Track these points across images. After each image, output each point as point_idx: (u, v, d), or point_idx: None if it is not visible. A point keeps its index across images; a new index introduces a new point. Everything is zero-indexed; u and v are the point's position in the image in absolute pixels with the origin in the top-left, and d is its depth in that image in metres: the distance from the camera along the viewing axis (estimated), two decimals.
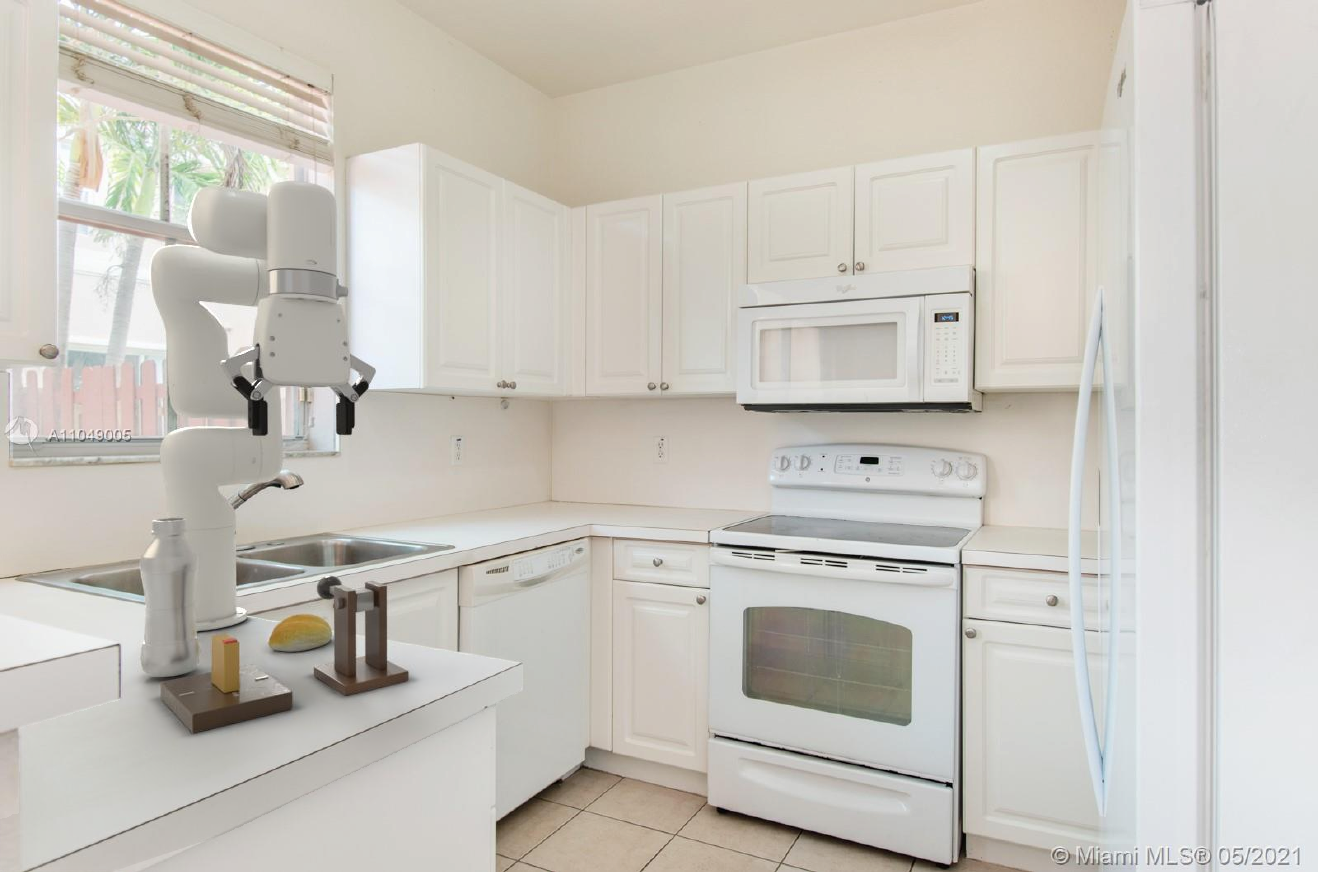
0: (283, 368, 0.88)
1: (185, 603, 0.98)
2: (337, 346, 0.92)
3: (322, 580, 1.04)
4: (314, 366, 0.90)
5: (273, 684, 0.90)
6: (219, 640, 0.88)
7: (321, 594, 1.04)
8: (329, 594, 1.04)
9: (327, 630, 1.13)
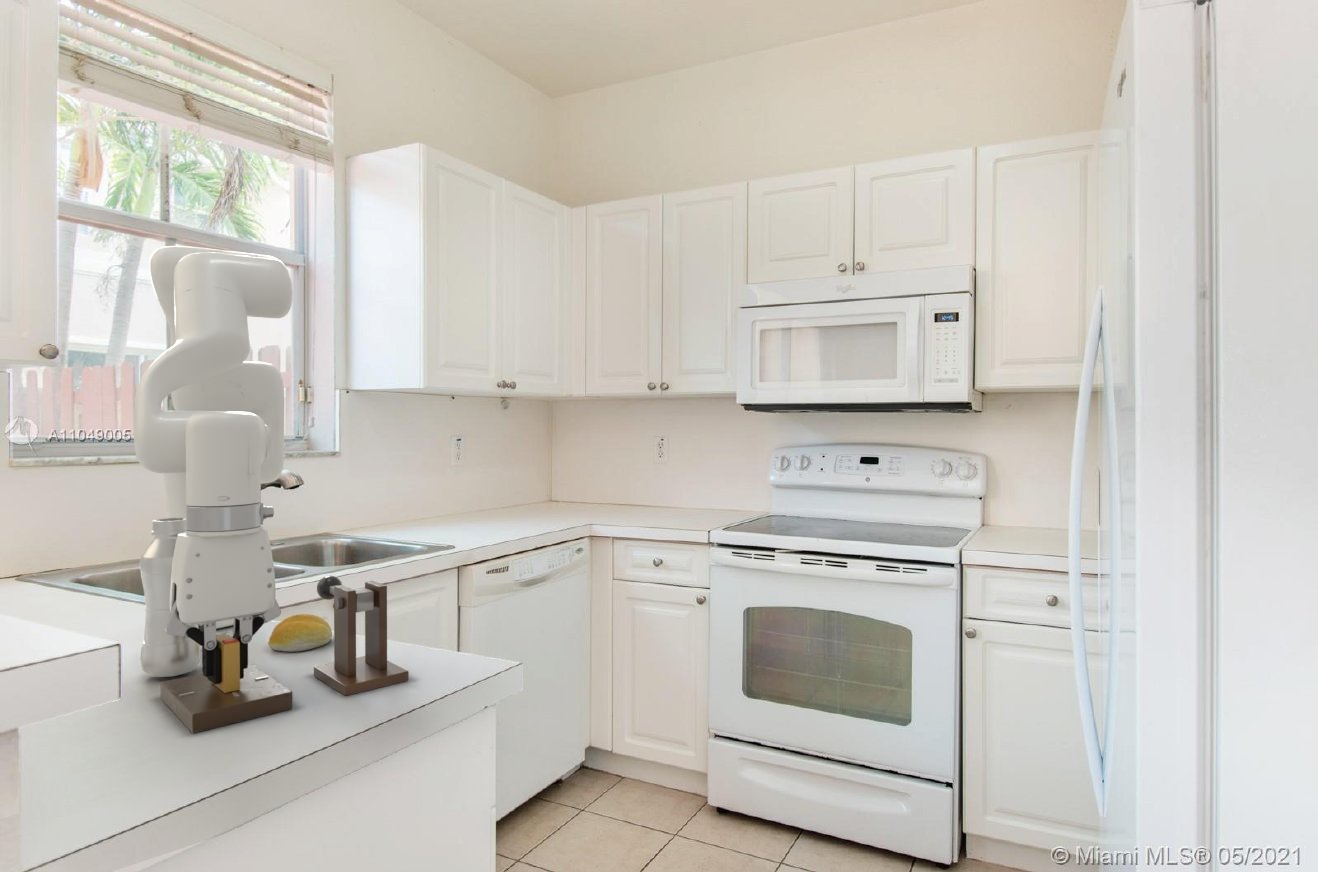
0: (201, 608, 0.85)
1: None
2: (261, 574, 0.90)
3: (322, 580, 1.04)
4: (235, 600, 0.88)
5: (273, 684, 0.90)
6: (219, 640, 0.88)
7: (321, 594, 1.04)
8: (329, 594, 1.04)
9: (327, 630, 1.13)
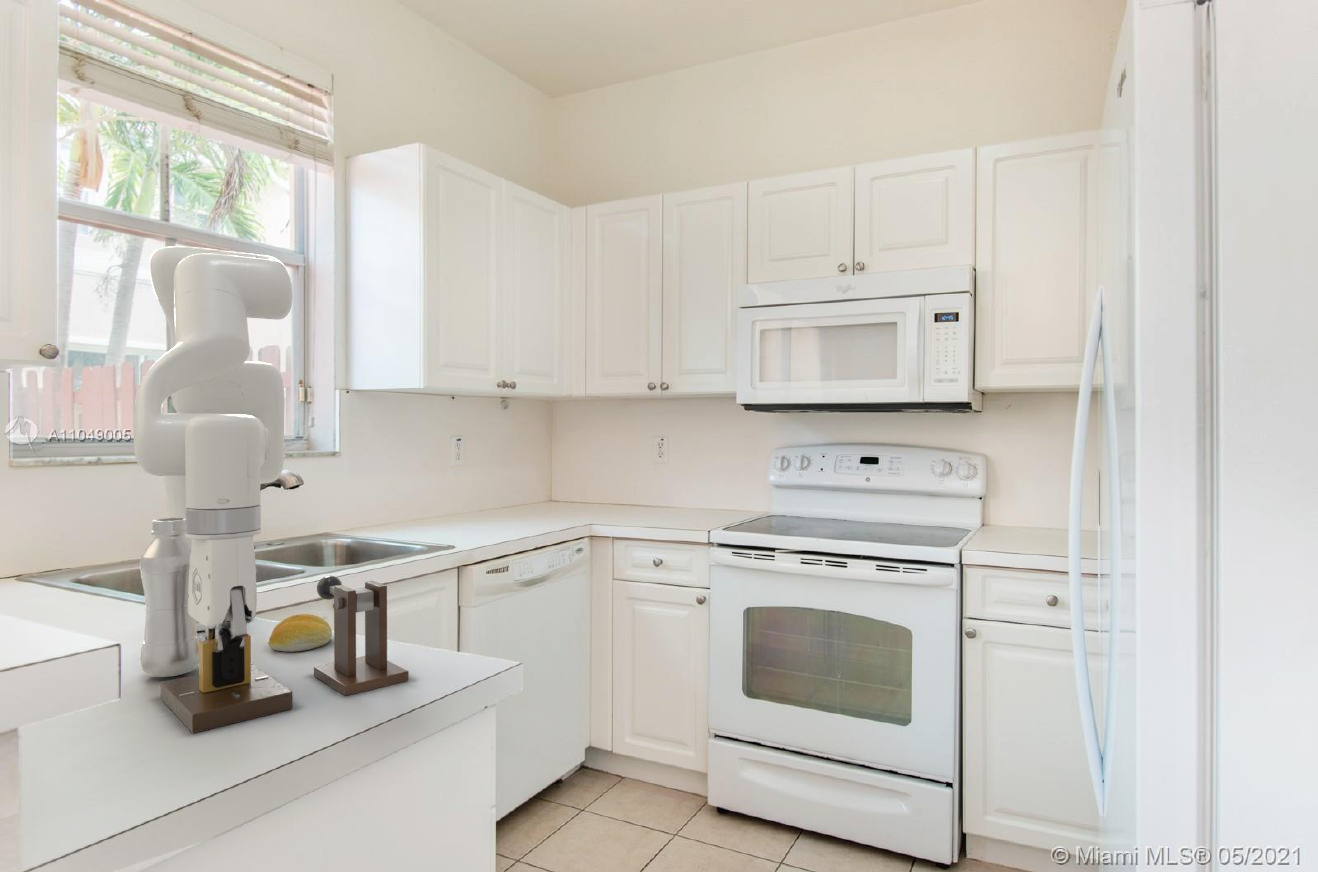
0: None
1: (185, 603, 0.98)
2: None
3: (322, 580, 1.04)
4: None
5: (273, 684, 0.90)
6: None
7: (321, 594, 1.04)
8: (329, 594, 1.04)
9: (327, 630, 1.13)
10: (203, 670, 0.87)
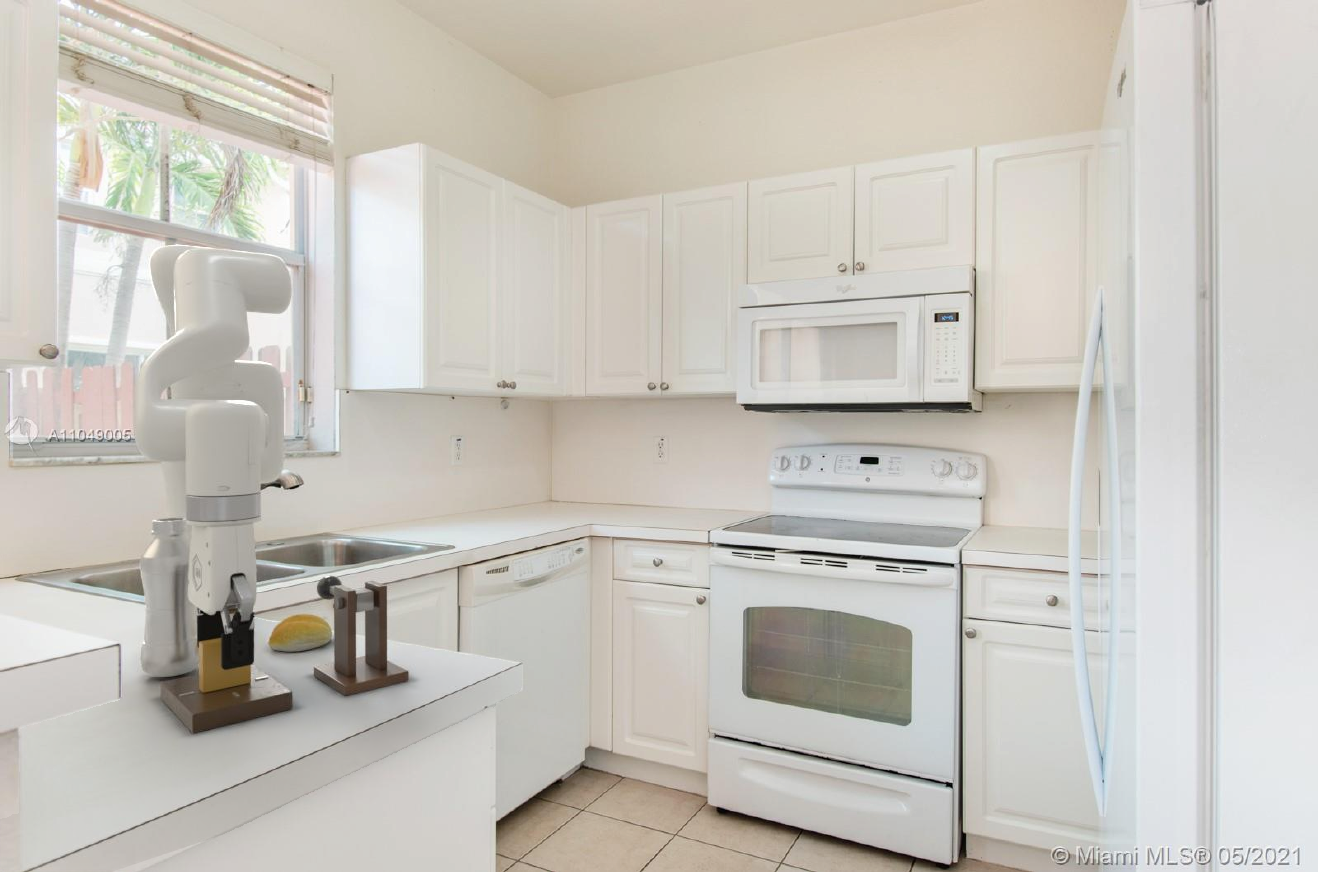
0: None
1: (185, 603, 0.98)
2: None
3: (322, 580, 1.04)
4: None
5: (273, 684, 0.90)
6: None
7: (321, 594, 1.04)
8: (329, 594, 1.04)
9: (327, 630, 1.13)
10: (203, 670, 0.87)
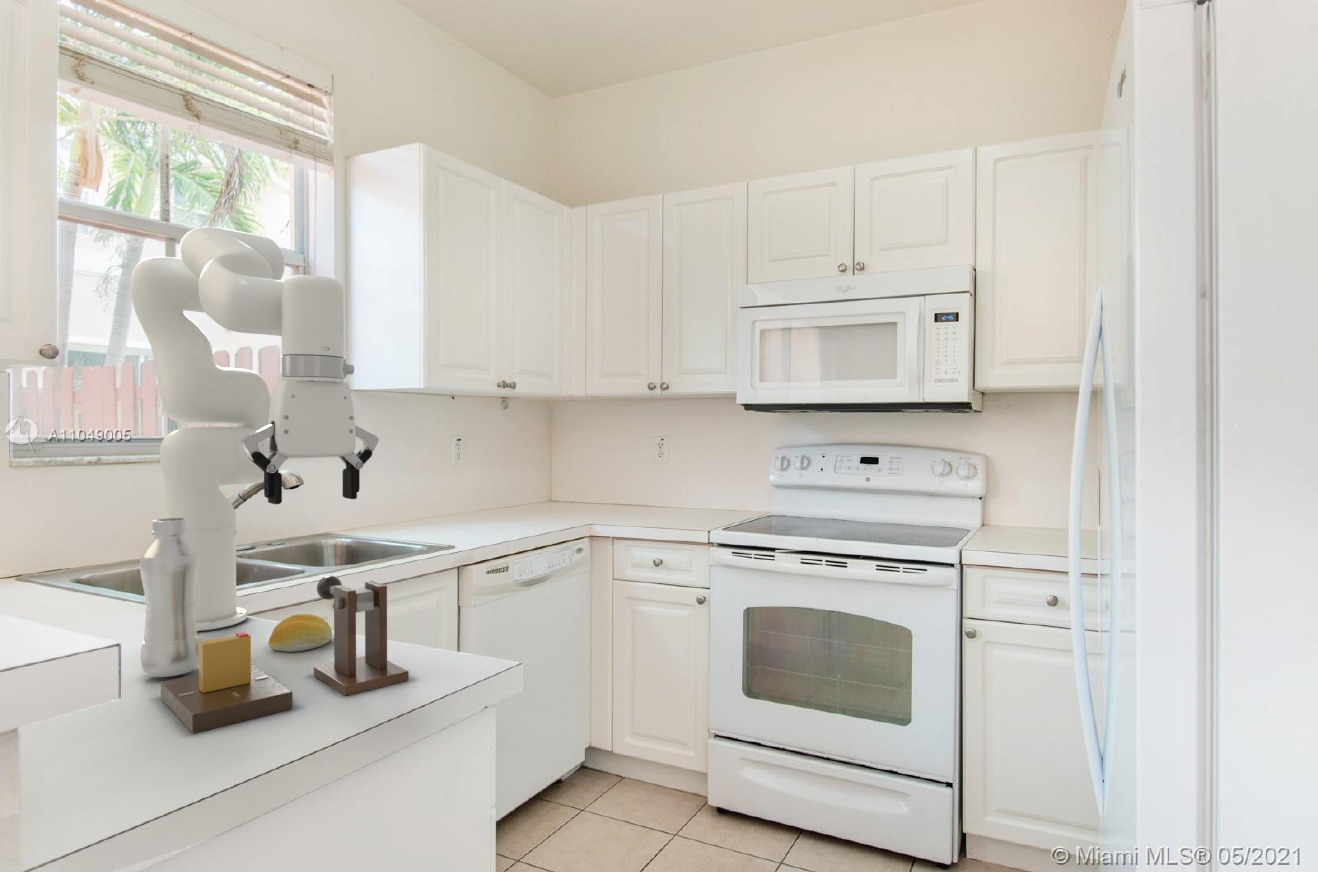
0: (296, 443, 0.98)
1: (185, 603, 0.98)
2: (344, 420, 1.03)
3: (322, 580, 1.04)
4: (323, 440, 1.01)
5: (273, 684, 0.90)
6: (229, 639, 0.89)
7: (321, 594, 1.04)
8: (329, 594, 1.04)
9: (327, 630, 1.13)
10: (203, 670, 0.87)
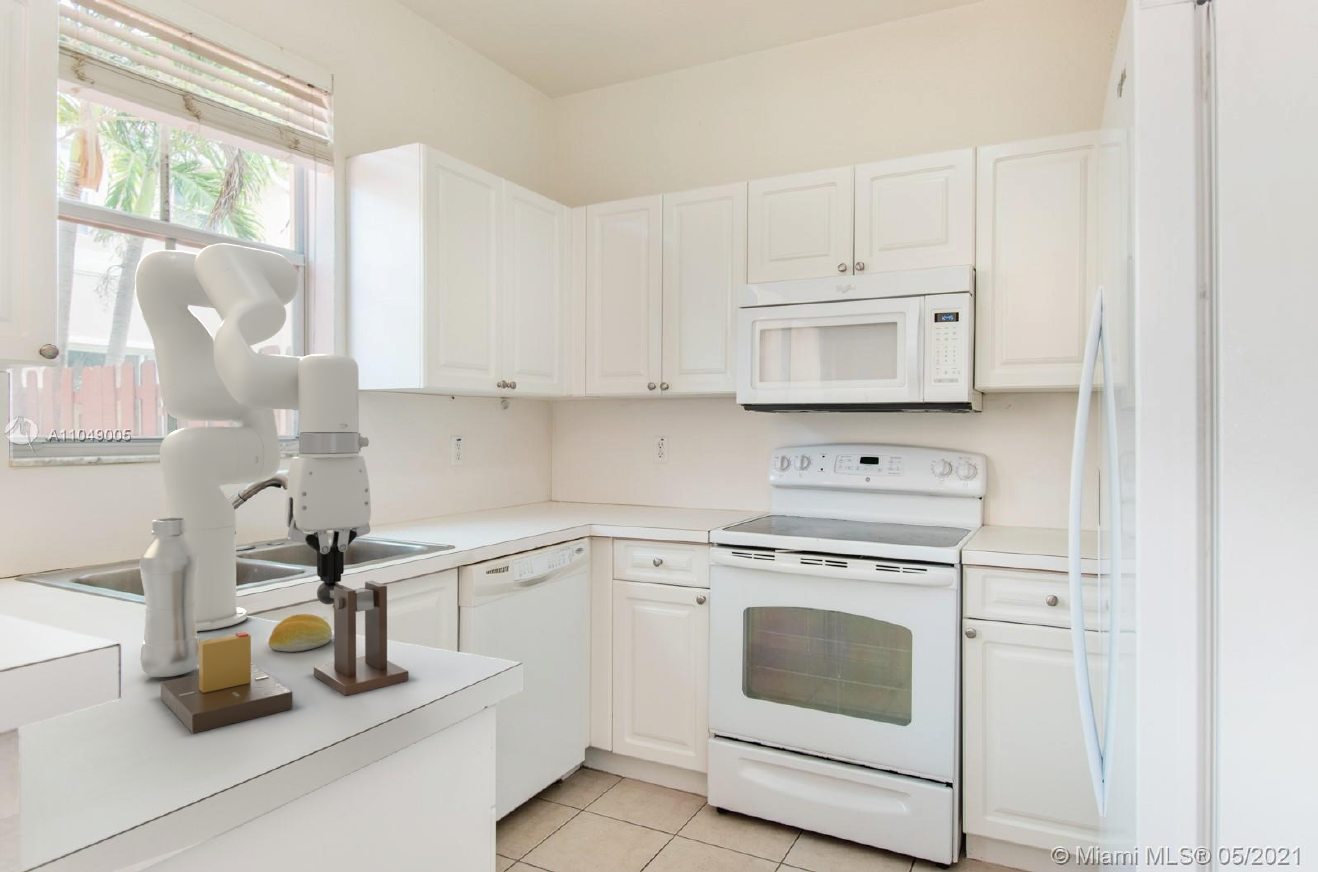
0: (313, 518, 1.01)
1: (185, 603, 0.98)
2: (359, 493, 1.05)
3: (322, 585, 1.04)
4: (340, 513, 1.04)
5: (273, 684, 0.90)
6: (229, 639, 0.89)
7: (321, 599, 1.04)
8: (329, 598, 1.04)
9: (327, 630, 1.13)
10: (203, 670, 0.87)
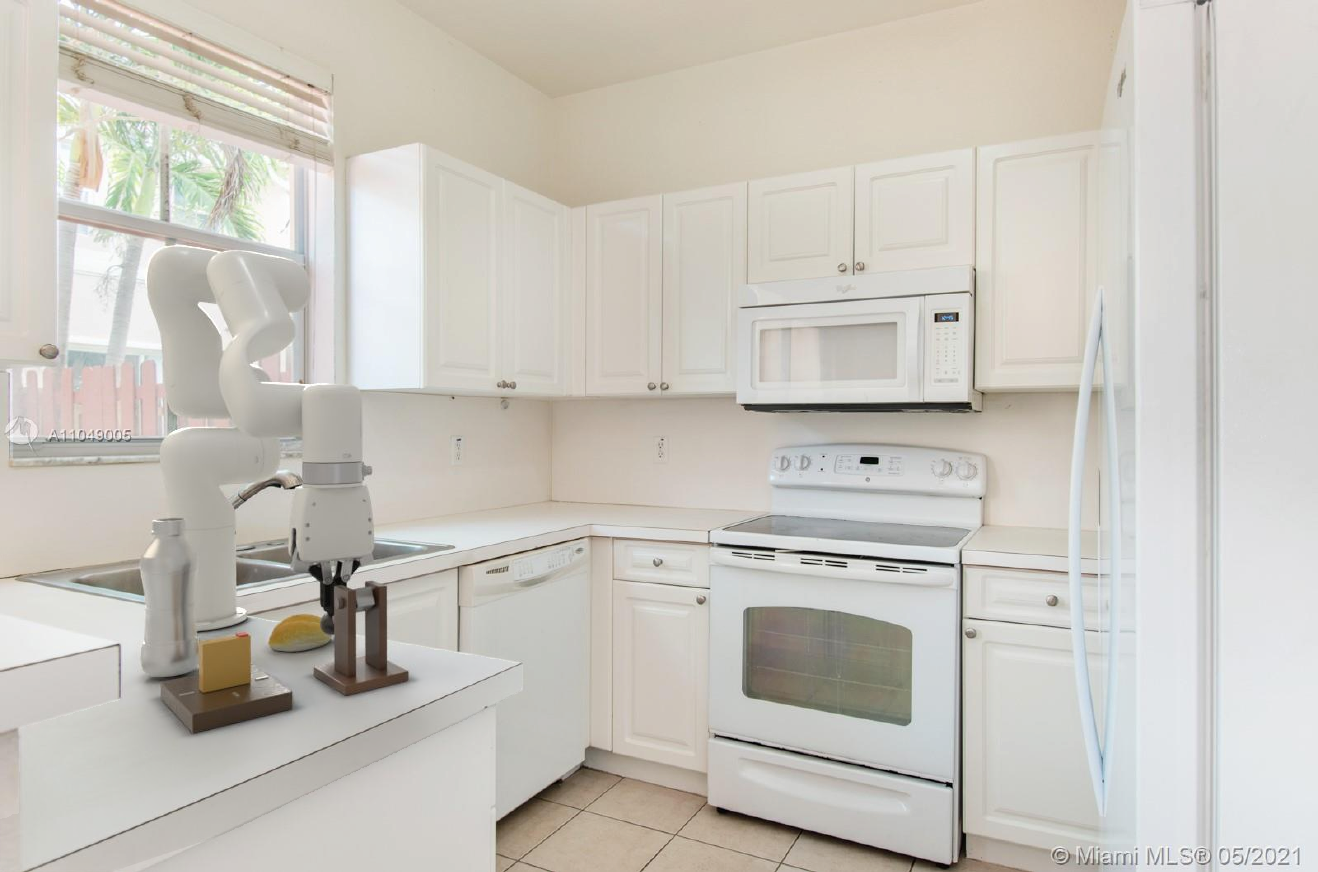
0: (317, 549, 1.01)
1: (185, 603, 0.98)
2: (363, 523, 1.05)
3: (324, 615, 1.04)
4: (343, 544, 1.03)
5: (273, 684, 0.90)
6: (229, 639, 0.89)
7: (325, 627, 1.03)
8: (333, 625, 1.03)
9: None
10: (203, 670, 0.87)
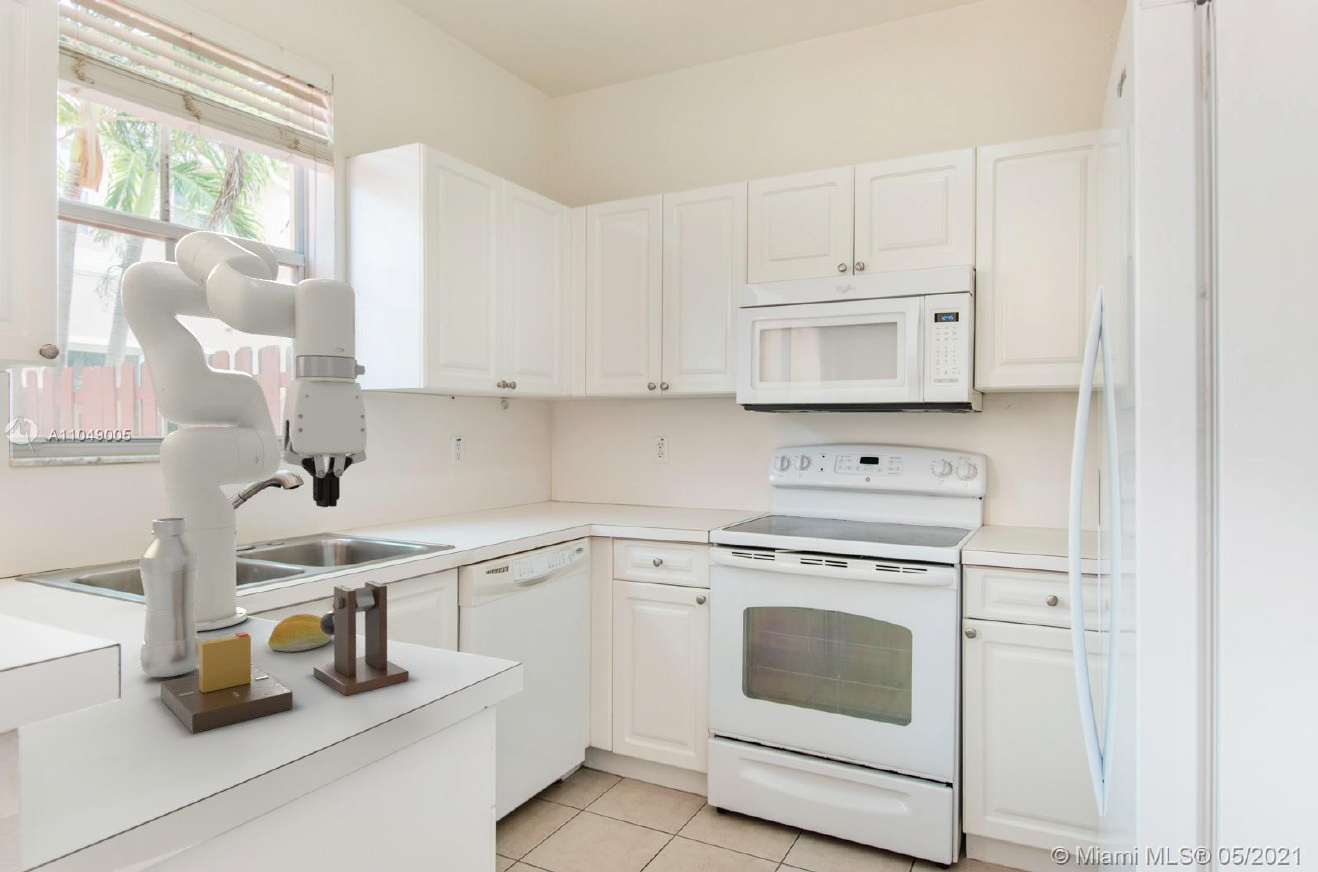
0: (309, 441, 1.02)
1: (185, 603, 0.98)
2: (355, 419, 1.06)
3: (324, 615, 1.04)
4: (336, 438, 1.04)
5: (273, 684, 0.90)
6: (229, 639, 0.89)
7: (325, 628, 1.03)
8: (333, 625, 1.03)
9: None
10: (203, 670, 0.87)
